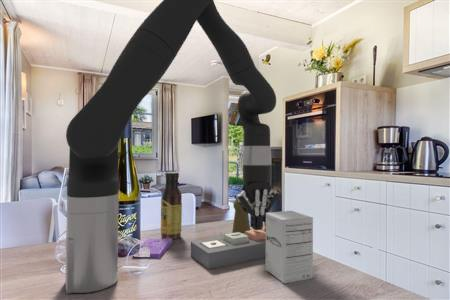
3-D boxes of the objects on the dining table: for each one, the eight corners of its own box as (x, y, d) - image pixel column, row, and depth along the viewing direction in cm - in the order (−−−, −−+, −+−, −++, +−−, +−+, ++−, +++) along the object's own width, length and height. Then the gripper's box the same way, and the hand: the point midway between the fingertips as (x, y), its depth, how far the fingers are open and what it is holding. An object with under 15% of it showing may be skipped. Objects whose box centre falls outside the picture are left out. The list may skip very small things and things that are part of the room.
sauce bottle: (159, 235, 91) (160, 171, 91) (179, 233, 93) (180, 171, 93) (161, 241, 85) (162, 172, 85) (183, 239, 86) (183, 172, 87)
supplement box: (264, 270, 63) (264, 212, 63) (293, 265, 66) (293, 210, 66) (282, 284, 56) (282, 219, 57) (314, 278, 59) (314, 216, 59)
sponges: (172, 244, 83) (172, 238, 83) (159, 260, 70) (160, 252, 70) (147, 244, 83) (147, 237, 83) (131, 260, 71) (131, 252, 71)
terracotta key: (254, 244, 73) (254, 234, 73) (245, 240, 77) (245, 230, 77) (268, 242, 75) (268, 232, 75) (258, 237, 79) (258, 228, 79)
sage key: (233, 248, 70) (233, 238, 70) (224, 243, 74) (224, 233, 74) (248, 245, 72) (248, 235, 72) (238, 241, 76) (238, 231, 76)
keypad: (208, 269, 64) (208, 253, 64) (190, 255, 72) (190, 241, 72) (280, 253, 74) (280, 240, 74) (257, 243, 82) (257, 231, 82)
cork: (251, 231, 96) (251, 198, 96) (250, 236, 90) (250, 200, 90) (232, 231, 96) (232, 197, 96) (231, 236, 90) (231, 200, 90)
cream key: (209, 258, 67) (209, 247, 67) (201, 252, 71) (201, 242, 71) (225, 255, 69) (225, 244, 69) (217, 249, 73) (217, 239, 73)
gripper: (243, 164, 70) (243, 236, 70) (285, 163, 77) (286, 229, 76) (228, 163, 77) (228, 229, 76) (268, 162, 83) (268, 223, 83)
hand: (257, 229), depth 76 cm, fingers closed
